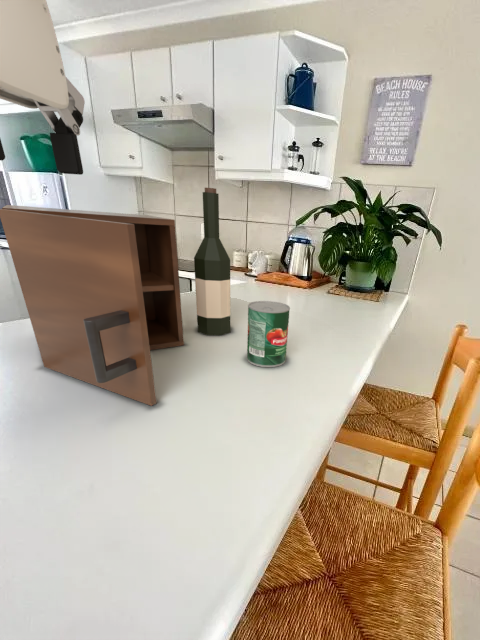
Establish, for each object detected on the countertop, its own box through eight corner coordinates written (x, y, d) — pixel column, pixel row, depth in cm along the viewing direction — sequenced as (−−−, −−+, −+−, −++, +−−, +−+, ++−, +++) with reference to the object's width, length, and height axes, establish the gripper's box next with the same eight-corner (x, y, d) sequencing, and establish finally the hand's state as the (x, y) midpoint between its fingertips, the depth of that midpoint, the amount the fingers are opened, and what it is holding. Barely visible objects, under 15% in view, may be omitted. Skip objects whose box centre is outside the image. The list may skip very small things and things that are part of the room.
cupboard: (184, 345, 69) (174, 219, 58) (47, 365, 56) (1, 207, 45) (159, 321, 81) (147, 215, 70) (43, 333, 68) (6, 204, 57)
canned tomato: (251, 350, 69) (252, 298, 64) (287, 354, 69) (291, 303, 64) (242, 365, 62) (243, 308, 57) (283, 369, 62) (287, 313, 57)
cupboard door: (119, 424, 42) (80, 222, 31) (7, 379, 50) (-55, 206, 39) (156, 403, 47) (134, 224, 37) (50, 364, 55) (5, 209, 45)
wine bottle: (237, 333, 78) (238, 190, 65) (204, 337, 74) (197, 185, 60) (223, 323, 84) (221, 190, 71) (191, 327, 80) (183, 186, 66)
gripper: (32, -5, 36) (69, 176, 44) (-213, -174, 21) (-90, 149, 28) (91, -8, 35) (118, 179, 42) (-124, -190, 19) (-20, 153, 27)
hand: (35, 167), depth 35 cm, fingers open, 9 cm apart
